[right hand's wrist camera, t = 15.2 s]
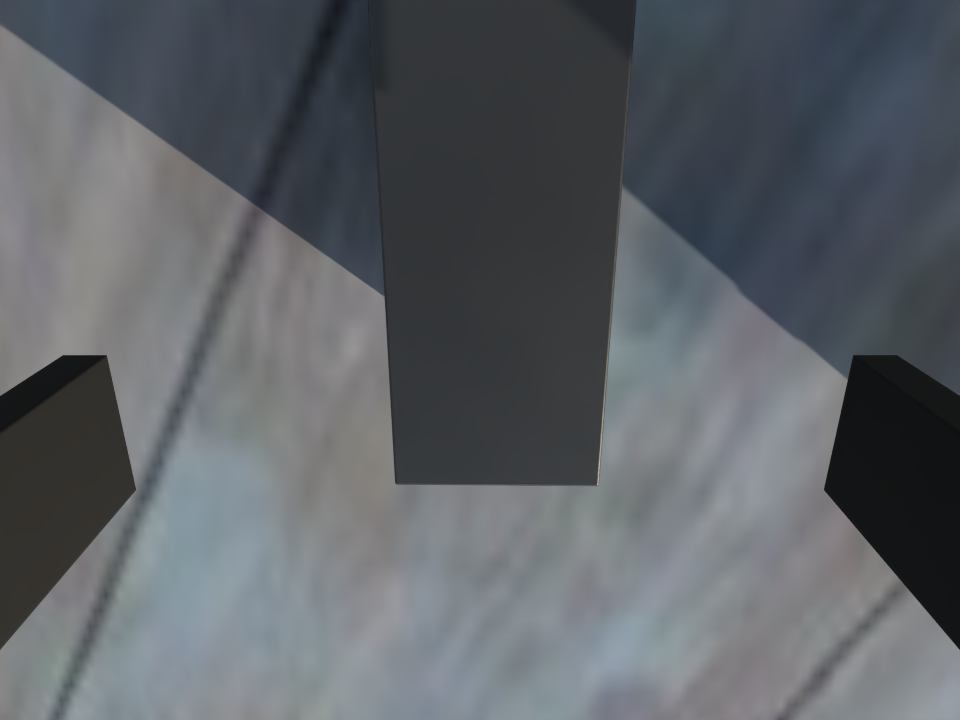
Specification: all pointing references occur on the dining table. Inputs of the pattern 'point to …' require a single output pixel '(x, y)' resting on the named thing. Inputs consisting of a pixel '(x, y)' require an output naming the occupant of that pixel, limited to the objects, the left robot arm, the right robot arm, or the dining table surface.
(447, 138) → the charcoal box
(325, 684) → the dining table surface
